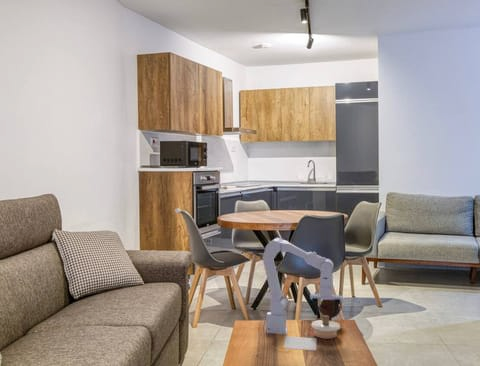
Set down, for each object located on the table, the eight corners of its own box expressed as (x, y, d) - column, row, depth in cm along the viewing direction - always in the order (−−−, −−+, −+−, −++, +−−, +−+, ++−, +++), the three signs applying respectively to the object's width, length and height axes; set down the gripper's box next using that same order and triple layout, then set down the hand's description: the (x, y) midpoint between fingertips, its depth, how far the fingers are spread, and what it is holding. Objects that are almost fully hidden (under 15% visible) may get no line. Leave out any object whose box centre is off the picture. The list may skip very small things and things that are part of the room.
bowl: (314, 340, 224) (314, 329, 224) (314, 332, 234) (314, 321, 234) (336, 341, 222) (337, 330, 222) (336, 333, 232) (336, 323, 232)
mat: (283, 349, 213) (283, 347, 213) (285, 337, 227) (285, 336, 227) (316, 351, 211) (316, 350, 211) (316, 339, 225) (316, 338, 225)
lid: (309, 329, 223) (310, 319, 222) (312, 320, 235) (313, 310, 235) (339, 332, 220) (339, 322, 219) (340, 323, 232) (340, 313, 232)
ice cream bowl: (342, 329, 238) (343, 298, 237) (319, 329, 238) (320, 298, 238) (339, 322, 249) (339, 292, 248) (316, 321, 249) (317, 292, 248)
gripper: (310, 287, 224) (309, 316, 225) (342, 289, 222) (342, 318, 222) (310, 283, 231) (310, 312, 232) (342, 285, 229) (341, 314, 229)
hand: (325, 315), depth 228 cm, fingers open, 7 cm apart
